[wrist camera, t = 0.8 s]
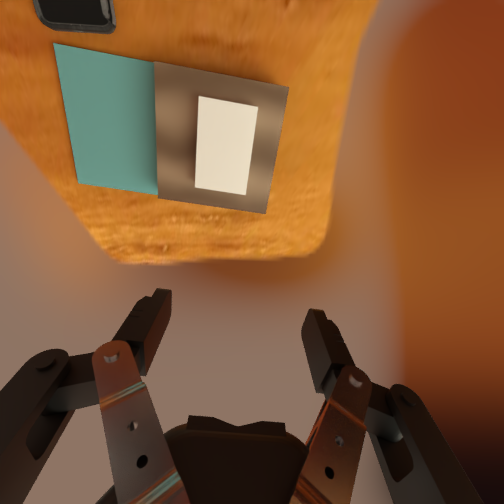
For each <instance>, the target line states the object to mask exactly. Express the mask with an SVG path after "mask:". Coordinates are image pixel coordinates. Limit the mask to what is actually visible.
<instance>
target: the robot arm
mask: <svg viewBox="0 0 504 504" xmlns="http://www.w3.org/2000/svg"><path fill="white" fill-rule="evenodd" d="M171 303H172V291H171V290H168V289H160V288H157V289H156V290H155V292H154V294H153V295H152V297H148V296H145V297H144V298H142V299H141V300H139V301H138V302H137V303H136V305H135V306H134V307H133V309H132V311H131V312H130V314H129V315H128V317H127V318H126V320H125V321H124V323H123V324H122V326H121V327H120V329H119V330H118V332H117V333H116V335H115V336H114V338H113V339H112V341H110V342H107V343H105V344H103V345H102V346H100V347H99V348H98V349H97V350H96V351H95V352H92V353H88V354H82V355H75V356H68V353H67V352H66V351H64V350H62V349H51V350H46V351H43V352H41V353H39V354H37V355H35V356H33V357H32V358H30V359H29V360H28V361H27V362H26V363H25V364H24V365H23V366H22V367H21V369H20V370H19V371H18V372H17V373H16V374H15V375H14V377H13V378H12V379H11V380H10V381H9V382H8V383H7V384H6V385H5V386H4V388H3V389H2V390H1V391H0V504H23V502H24V500H25V498H26V497H27V495H28V493H29V491H30V490H31V488H32V486H33V484H34V482H35V481H36V479H37V477H38V475H39V474H40V472H41V470H42V468H43V466H44V465H45V463H46V461H47V459H48V458H49V456H50V454H51V452H52V450H53V449H54V447H55V445H56V443H57V442H58V440H59V438H60V436H61V435H62V433H63V431H64V429H65V427H66V426H67V424H68V422H69V421H70V419H71V417H72V415H73V414H74V412H75V410H76V409H79V408H84V407H87V406H92V405H96V404H100V410H101V415H102V421H103V426H104V432H105V437H106V442H107V447H108V453H109V459H110V464H111V469H112V475H113V479H114V485H113V486H112V487H111V488H110V489H109V490H108V491H107V492H106V493H105V494H104V495H103V496H102V497H101V498H100V499H99V500H98V501H97V502H96V504H350V502H351V497H352V492H353V488H354V484H355V479H356V475H357V470H358V466H359V461H360V457H361V452H362V448H363V444H364V439H365V434H366V431H367V432H368V433H369V435H370V438H371V441H372V444H373V447H374V450H375V453H376V455H377V458H378V461H379V464H380V466H381V469H382V472H383V475H384V478H385V481H386V484H387V486H388V489H389V492H390V495H391V498H392V500H393V503H394V504H484V503H483V502H482V500H481V498H480V497H479V495H478V493H477V491H476V490H475V488H474V487H473V485H472V483H471V481H470V480H469V478H468V476H467V475H466V473H465V472H464V470H463V468H462V467H461V465H460V463H459V462H458V460H457V458H456V457H455V455H454V453H453V452H452V450H451V448H450V447H449V445H448V443H447V442H446V440H445V438H444V437H443V435H442V433H441V432H440V430H439V428H438V427H437V425H436V423H435V422H434V420H433V418H432V417H431V415H430V413H429V412H428V410H427V408H426V407H425V405H424V403H423V402H422V400H421V399H420V397H419V396H418V395H417V394H416V393H415V392H413V391H412V390H411V389H409V388H408V387H406V386H404V385H401V384H394V385H393V386H392V387H391V388H390V389H388V388H385V387H382V386H380V385H378V384H375V383H373V382H371V380H370V378H369V377H368V375H367V374H366V373H365V372H364V371H363V370H361V369H359V368H358V367H356V366H355V364H354V361H353V359H352V357H351V355H350V353H349V351H348V348H347V346H346V344H345V343H344V340H343V338H342V336H341V333H340V331H339V329H338V327H337V326H336V325H335V324H334V323H333V321H332V320H328V319H327V317H326V315H325V313H324V311H323V310H319V309H309V311H308V313H307V316H306V318H305V321H304V323H303V326H302V330H301V336H302V341H303V344H304V348H305V352H306V356H307V360H308V364H309V368H310V371H311V375H312V379H313V383H314V386H315V390H316V393H323V394H324V395H325V401H324V402H323V405H322V407H321V409H320V412H319V414H318V416H317V419H316V421H315V423H314V425H313V428H312V430H311V432H310V435H309V437H308V439H307V441H306V443H305V444H304V443H303V442H301V441H300V440H299V439H298V438H296V437H295V436H294V435H292V434H290V433H288V432H286V430H285V423H279V422H267V421H260V422H256V423H252V424H247V425H243V426H234V425H232V424H229V423H226V422H224V421H222V420H219V419H217V418H214V417H204V416H192V415H189V418H188V422H187V423H186V424H183V425H179V426H177V427H175V428H173V429H171V430H169V431H167V432H166V433H164V434H163V431H162V428H161V425H160V423H159V420H158V417H157V414H156V412H155V409H154V406H153V403H152V400H151V398H150V395H149V392H148V389H147V387H146V384H145V383H144V382H142V380H141V377H140V376H146V375H147V372H148V370H149V368H150V365H151V363H152V361H153V358H154V356H155V354H156V351H157V349H158V347H159V344H160V342H161V339H162V337H163V335H164V332H165V330H166V328H167V325H168V323H169V320H170V317H171V305H172V304H171Z"/></svg>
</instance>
